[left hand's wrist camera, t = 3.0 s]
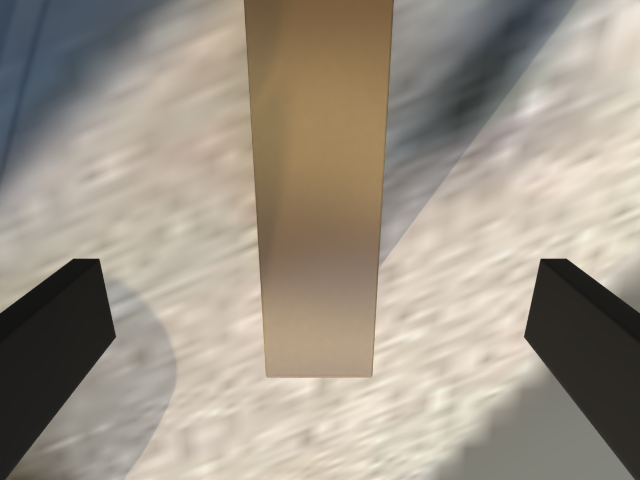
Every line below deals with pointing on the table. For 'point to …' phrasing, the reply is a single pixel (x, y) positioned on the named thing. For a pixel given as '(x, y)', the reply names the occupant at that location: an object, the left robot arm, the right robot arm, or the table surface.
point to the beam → (319, 178)
